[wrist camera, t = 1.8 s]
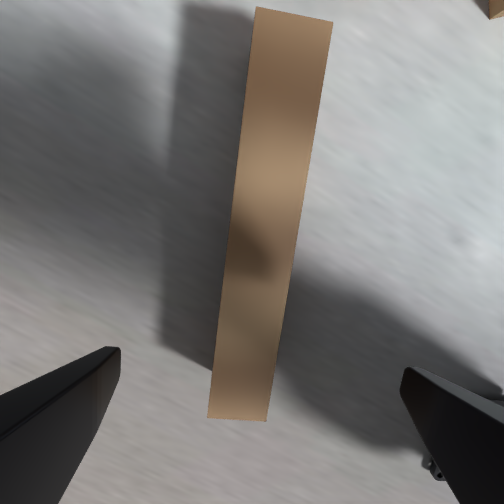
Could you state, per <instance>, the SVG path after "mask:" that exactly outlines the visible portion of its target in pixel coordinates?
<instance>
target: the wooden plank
mask: <svg viewBox="0 0 504 504" xmlns="http://www.w3.org/2000/svg"><path fill="white" fill-rule="evenodd" d="M332 27H333V22H330V21H325V20H320V19H315V18H310V17H305V16H300V15H296V14H291V13H286V12H281V11H276V10H271V9H266V8H261V7H256V10H255V18H254V26H253V33H252V41H251V49H250V57H249V65H248V74H247V82H246V90H245V99H244V107H243V116H242V124H241V133H240V141H239V150H238V158H237V167H236V175H235V183H234V192H233V200H232V209H231V217H230V226H229V234H228V243H227V251H226V260H225V268H224V276H223V285H222V293H221V302H220V310H219V319H218V327H217V336H216V344H215V352H214V361H213V369H212V378H211V388H210V397H209V406H208V415H207V418H216V419H233V420H250V421H266V419H267V413H268V407H269V401H270V395H271V389H272V383H273V377H274V371H275V365H276V359H277V353H278V347H279V341H280V336H281V330H282V324H283V318H284V312H285V306H286V300H287V294H288V288H289V282H290V276H291V270H292V264H293V258H294V252H295V247H296V241H297V235H298V229H299V223H300V217H301V211H302V205H303V199H304V193H305V187H306V181H307V175H308V169H309V164H310V158H311V152H312V146H313V140H314V134H315V128H316V122H317V116H318V110H319V104H320V98H321V92H322V86H323V80H324V75H325V69H326V63H327V57H328V51H329V45H330V39H331V33H332Z"/></svg>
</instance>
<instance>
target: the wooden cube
mask: <svg viewBox="0 0 504 504" xmlns="http://www.w3.org/2000/svg"><path fill="white" fill-rule="evenodd" d="M503 16H504V0H489V20H490V19H494V18H498V17H503Z"/></svg>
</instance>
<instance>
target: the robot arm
mask: <svg viewBox="0 0 504 504" xmlns="http://www.w3.org/2000/svg"><path fill="white" fill-rule="evenodd" d="M120 370H121V350H120V348H119V347H110V346H105V347H103V348H101V349H99V350H96V351H94V352H92V353H90V354H88V355H86V356H84V357H81V358H79V359H77V360H75V361H73V362H71V363H69V364H66V365H64V366H62V367H60V368H58V369H56V370H54V371H51V372H49V373H47V374H45V375H43V376H41V377H39V378H36V379H34V380H32V381H30V382H28V383H26V384H24V385H21V386H19V387H17V388H15V389H13V390H11V391H9V392H6V393H4V394H2V395H0V504H58V503H59V501H60V499H61V498H62V496H63V494H64V492H65V490H66V488H67V487H68V485H69V483H70V481H71V479H72V477H73V476H74V474H75V472H76V470H77V468H78V466H79V464H80V463H81V461H82V459H83V457H84V455H85V453H86V452H87V450H88V448H89V446H90V444H91V442H92V441H93V439H94V437H95V435H96V433H97V431H98V428H99V426H100V424H101V422H102V419H103V417H104V414H105V412H106V410H107V407H108V405H109V402H110V400H111V398H112V395H113V393H114V390H115V388H116V386H117V383H118V381H119V377H120ZM400 395H401V398H402V400H403V402H404V404H405V406H406V408H407V410H408V412H409V414H410V416H411V418H412V420H413V422H414V424H415V426H416V429H417V431H418V433H419V435H420V437H421V439H422V440H423V442H424V444H425V446H426V448H427V450H428V451H429V453H430V455H431V457H432V458H433V462H432V465H431V468H430V473H431V474H432V476H433V477H434V479H435V480H438V481H446V482H447V483H448V485H449V487H450V488H451V490H452V492H453V493H454V495H455V497H456V498H457V500H458V502H459V503H460V504H504V401H500V400H488V399H486V398H483V397H481V396H479V395H477V394H475V393H473V392H471V391H469V390H467V389H465V388H462V387H460V386H458V385H456V384H454V383H452V382H450V381H448V380H446V379H444V378H441V377H439V376H437V375H435V374H433V373H431V372H429V371H427V370H425V369H423V368H420V367H406V368H405V370H404V373H403V377H402V381H401V385H400Z"/></svg>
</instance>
